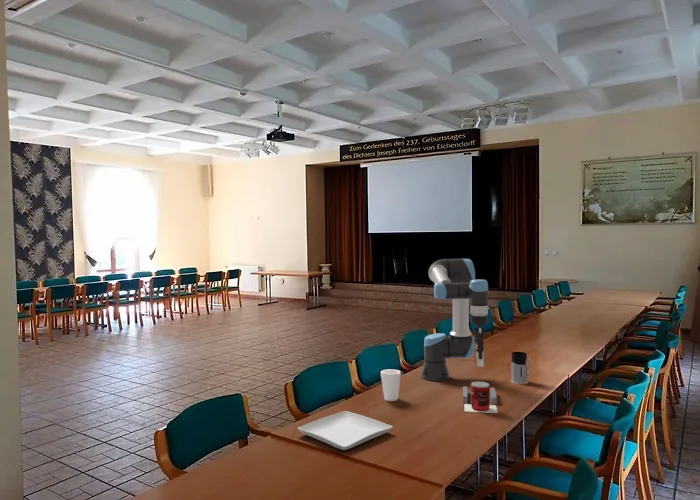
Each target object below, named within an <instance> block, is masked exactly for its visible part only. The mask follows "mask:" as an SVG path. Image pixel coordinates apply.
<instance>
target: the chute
mask: <svg viewBox="0 0 700 500" xmlns="http://www.w3.org/2000/svg"><path fill="white" fill-rule="evenodd" d="M489 395H490V399H491V403H492V404H490V408H489V410H487V411H477V410H474V409H472V406H471V403H468V400H469V399H468V386H462V403H464V410H463V411H464V412H465V413H469V412H470V413H485V414H486V413H487V414H499V413H498V408H497V405H498V397H497V392H496V388H495V387H489Z"/></svg>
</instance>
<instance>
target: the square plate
mask: <svg viewBox="0 0 700 500" xmlns="http://www.w3.org/2000/svg"><path fill="white" fill-rule="evenodd" d="M393 427H394V426H393V425H391V424H389V423H388V424H387V423H385V422H383V421H381V420H377V419H375V418H371V417H367V416H365V415H363V414H358V413H354V412H351V411H349V410H348V411H347V410H343V411H340V412H337V413H334V414H330V415H328V416H324V417H321V418H319V419H317V420H313V421H311V422H308V423H306V424H304V425H301V426H299V427H297V430H299V432H301V433H302V434H303V435H305V436H308V437H311V438H313V439H316V440H318V441H320V442H323V443H324V444H328V445H329V446H332V447H333V448H336V449H338V450H342V451H347V450H350V449H352V448H355V447H358V445H361V444H363V443H365V442H368V441H370V440H373V439H375V438H378V437H380V436H382V435H385V434H386V433H388V432H389V431H391V430H392V429H393Z"/></svg>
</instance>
